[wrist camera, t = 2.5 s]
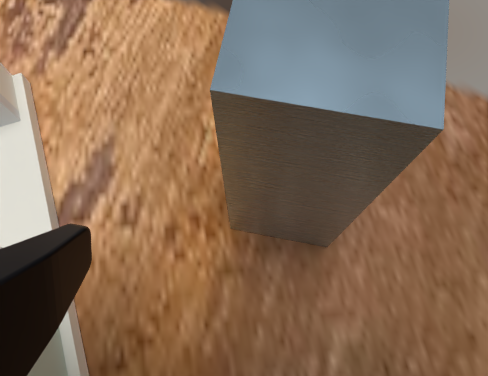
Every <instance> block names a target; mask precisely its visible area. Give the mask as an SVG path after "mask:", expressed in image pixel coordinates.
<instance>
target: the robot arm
mask: <svg viewBox="0 0 488 376" xmlns="http://www.w3.org/2000/svg"><path fill="white" fill-rule="evenodd" d="M91 260H92V252H91V232H90V229H89V228H88V227H86V226H82V225H77V224H67V225H64V226H62V227H59V228H56V229H53V230H51V231H48V232H45V233H42V234H40V235H37V236H34V237H32V238H29V239H26V240H23V241H21V242H18V243H15V244H13V245H10V246H7V247H4V248H2V249H0V376H27V375H28V374H29V372H30V371H31V369H32V368H33V366H34V365H35V363H36V362H37V360H38V359H39V357H40V356H41V354H42V353H43V351H44V350H45V348H46V346H47V345H48V343H49V342H50V340H51V339H52V337H53V336H54V334H55V333H56V331H57V329H58V328H59V326H60V324H61V322H62V320H63V319H64V317H65V315H66V313H67V311H68V309H69V307H70V305H71V303H72V301H73V299H74V297H75V295H76V293H77V291H78V289H79V288H80V286H81V284H82V282H83V280H84V278H85V276H86V274H87V272H88V270H89V268H90V265H91Z"/></svg>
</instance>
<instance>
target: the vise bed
mask: <svg viewBox="0 0 488 376" xmlns="http://www.w3.org/2000/svg"><path fill="white" fill-rule="evenodd" d="M56 228H59V224H58V219H57V214H56V209H55V204H54V199H53V194H52V189H51V184H50V179H49V174H48V169H47V165H46V160H45V155H44V150H43V145H42V140H41V135H40V130H39V125H38V120H37V115H36V110H35V105H34V100H33V95H32V90H31V85H30V82H29V81H28V80H27V79H26V78H25V77H24V76H23V74H22V73H19V74H16V75H11V74H10V72H9V71H8V70H7V69H6V68H5V67H4V66H3V65H2V64H1V63H0V247H3V248H4V247H7V246H10V245H13V244H15V243H18V242H21V241H23V240H26V239H29V238H32V237H34V236H37V235H40V234H42V233H45V232H48V231H51V230H53V229H56ZM59 330H60V336H61V341H62V347H63V352H64V357H65V363H66V368H67V373H68V376H89V373H88V368H87V363H86V358H85V353H84V348H83V343H82V338H81V333H80V328H79V323H78V318H77V313H76V308H75V303H74V299H73V301H72V303H71V305H70V307H69V309H68V311H67V313H66V315H65V317H64V319H63V320H62V322H61V324H60V326H59Z"/></svg>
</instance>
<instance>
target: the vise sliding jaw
mask: <svg viewBox="0 0 488 376" xmlns="http://www.w3.org/2000/svg"><path fill="white" fill-rule="evenodd" d="M2 248H3V247H0V249H2ZM27 376H68V373H67V368H66V363H65V357H64V352H63V347H62V341H61V336H60V330H59V328H58V329H57V331H56V333H55V334H54V336H53V337H52V339H51V340H50V342H49V343H48V345H47V346H46V348H45V350H44V351H43V353H42V354H41V356H40V357H39V359H38V360H37V362H36V363H35V365H34V366H33V368H32V369H31V371H30V372H29V374H28V375H27Z"/></svg>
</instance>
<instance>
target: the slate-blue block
mask: <svg viewBox="0 0 488 376" xmlns="http://www.w3.org/2000/svg"><path fill="white" fill-rule="evenodd" d="M448 15H449V0H233V2H232V6H231V10H230V14H229V18H228V22H227V26H226V30H225V33H224V37H223V41H222V45H221V49H220V53H219V57H218V61H217V65H216V69H215V72H214V76H213V80H212V84H211V88H210V93H211V100H212V107H213V113H214V120H215V127H216V134H217V140H218V147H219V154H220V161H221V168H222V174H223V181H224V188H225V195H226V201H227V208H228V215H229V222H230V229H235V230H240V231H245V232H250V233H256V234H261V235H266V236H271V237H277V238H282V239H287V240H292V241H298V242H303V243H308V244H313V245H318V246H324V247H328V246H329V245H330V244H331V243H332V242H333V241H334V240H335V239H336V238H337V237H338V236H339V235H340V234H341V233H342V232H343V231H344V230H345V229H346V228H347V227H348V226H349V225H350V224H351V223H352V222H353V220H354V219H355V218H356V217H357V216H358V215H359V214H360V213H361V212H362V211H363V210H364V209H365V208H366V207H367V206H368V205H369V204H370V203H371V202H372V201H373V200H374V199H375V198H376V197H377V196H378V195H379V194H380V193H381V192H382V191H383V190H384V189H385V188H386V187H387V186H388V185H389V184H390V183H391V182H392V181H393V180H394V179H395V178H396V177H397V176H398V175H399V174H400V173H401V172H402V171H403V170H404V169H405V168H406V167H407V166H408V165H409V164H410V163H411V162H412V161H413V160H414V159H415V158H416V157H417V156H418V155H419V154H420V153H421V152H422V151H423V150H424V149H425V148H426V147H427V146H428V145H429V144H430V143H431V142H432V141H433V140H434V138H435V137H436V136H437V135H438V134H439V133H440V132H441V131H442V130H443V129H444V106H445V83H446V60H447V37H448Z"/></svg>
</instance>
